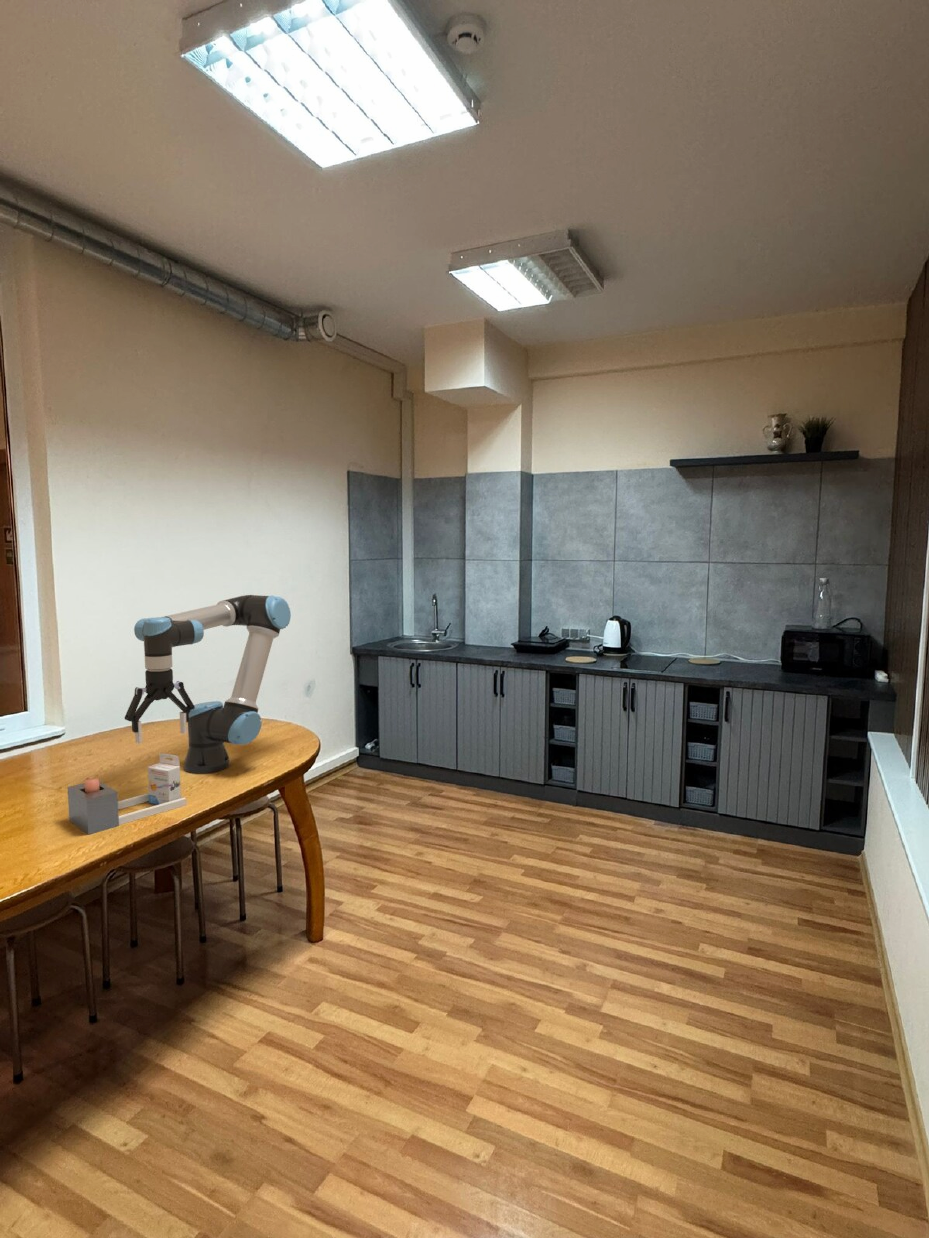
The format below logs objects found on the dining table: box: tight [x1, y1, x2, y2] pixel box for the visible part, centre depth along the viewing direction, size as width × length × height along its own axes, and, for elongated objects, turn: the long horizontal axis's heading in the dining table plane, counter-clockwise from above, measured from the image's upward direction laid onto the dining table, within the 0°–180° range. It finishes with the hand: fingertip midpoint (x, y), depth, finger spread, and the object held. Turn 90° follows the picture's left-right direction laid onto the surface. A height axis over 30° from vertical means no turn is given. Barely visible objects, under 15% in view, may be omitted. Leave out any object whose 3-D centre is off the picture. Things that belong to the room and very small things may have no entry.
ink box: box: [147, 752, 182, 806], centre depth 204 cm, size 8×5×15 cm, turn 69°
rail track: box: [118, 792, 188, 826], centre depth 200 cm, size 20×13×2 cm, turn 139°
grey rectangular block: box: [67, 780, 120, 836], centre depth 189 cm, size 8×14×10 cm, turn 49°
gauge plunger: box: [84, 778, 100, 794], centre depth 189 cm, size 4×4×5 cm
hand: (161, 737), depth 203 cm, fingers open, 13 cm apart
